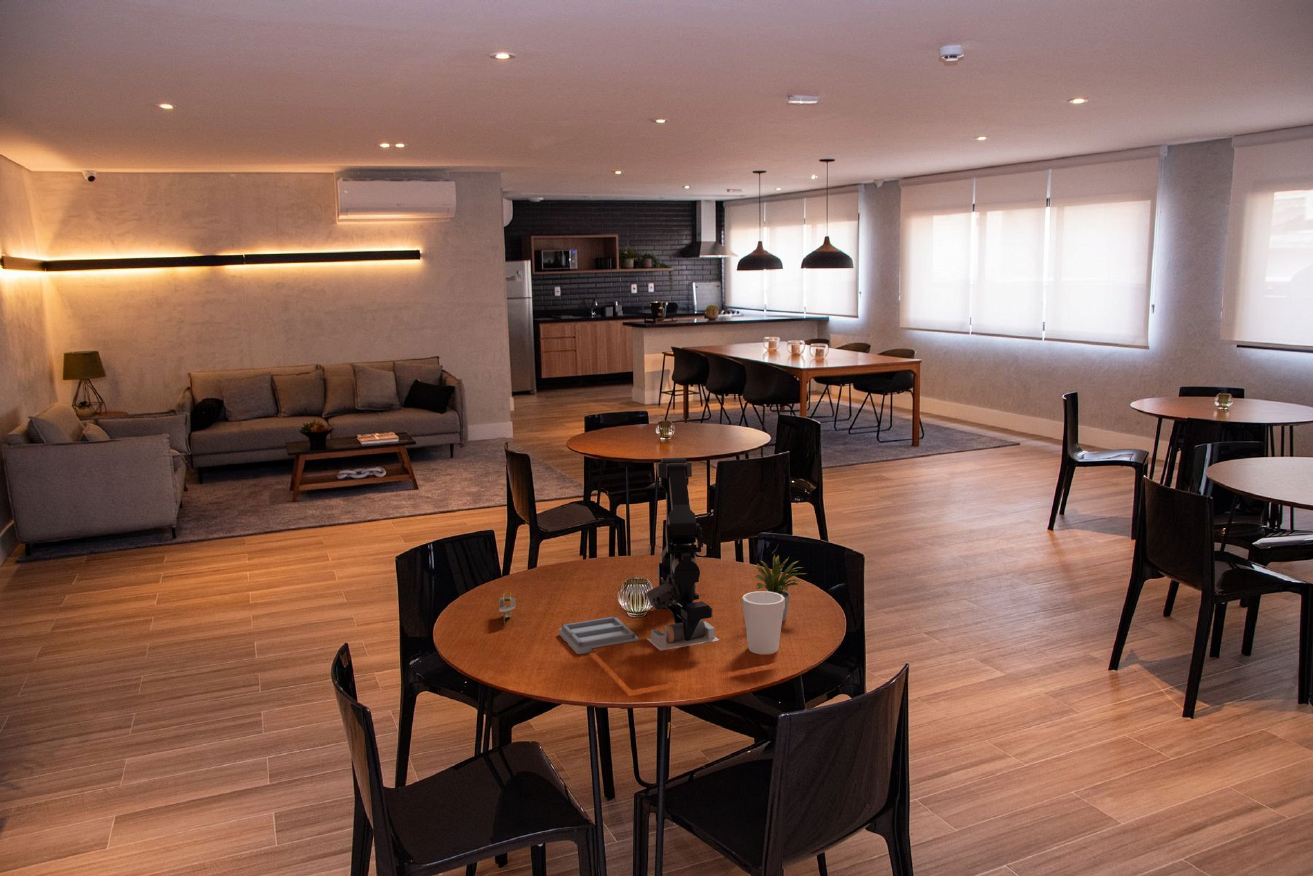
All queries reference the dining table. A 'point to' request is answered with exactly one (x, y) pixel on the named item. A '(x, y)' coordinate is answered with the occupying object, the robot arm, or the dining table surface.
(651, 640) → the checker cradle
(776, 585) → the house plant
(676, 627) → the battery cell
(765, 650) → the foam cup
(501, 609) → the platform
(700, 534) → the robot arm
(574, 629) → the two-compartment grey tray
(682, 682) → the dining table surface
